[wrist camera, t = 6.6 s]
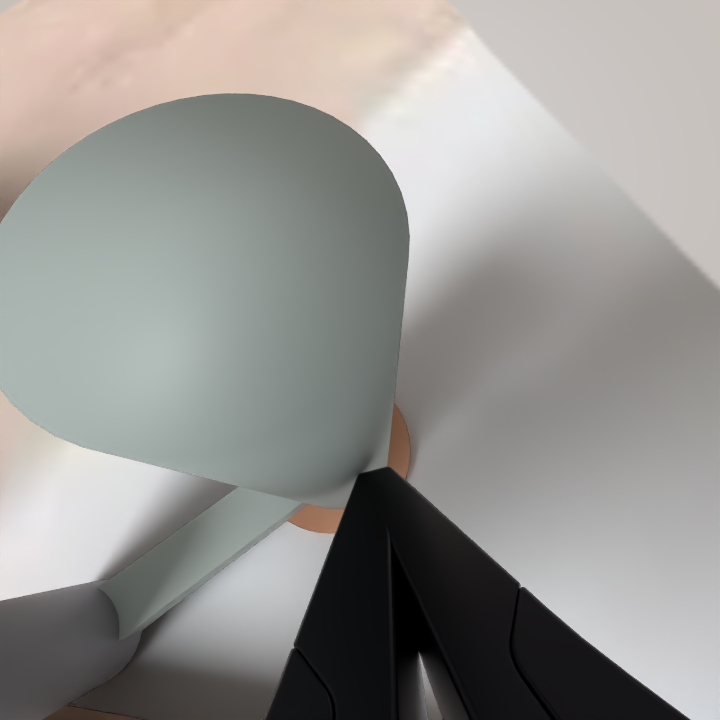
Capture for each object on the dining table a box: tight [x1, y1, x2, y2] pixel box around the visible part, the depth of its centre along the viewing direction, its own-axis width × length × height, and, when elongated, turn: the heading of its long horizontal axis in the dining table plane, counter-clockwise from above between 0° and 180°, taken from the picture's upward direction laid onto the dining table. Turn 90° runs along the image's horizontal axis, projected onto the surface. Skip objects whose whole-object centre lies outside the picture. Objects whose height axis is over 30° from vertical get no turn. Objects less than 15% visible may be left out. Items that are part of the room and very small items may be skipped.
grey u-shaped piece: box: [0, 94, 410, 720], centre depth 8 cm, size 12×4×12 cm, turn 126°
